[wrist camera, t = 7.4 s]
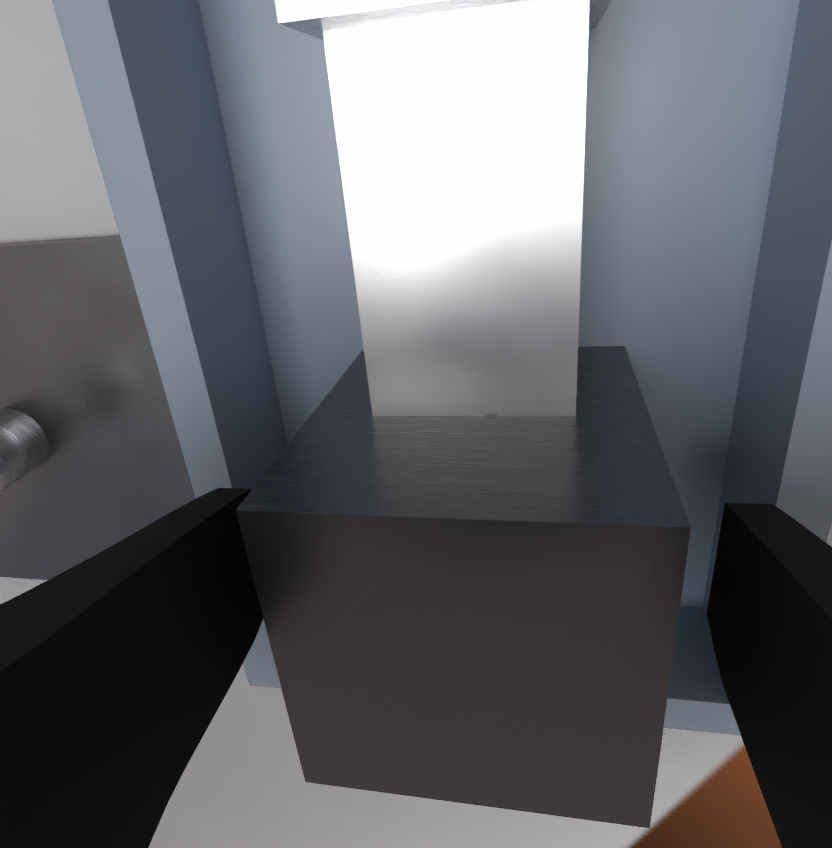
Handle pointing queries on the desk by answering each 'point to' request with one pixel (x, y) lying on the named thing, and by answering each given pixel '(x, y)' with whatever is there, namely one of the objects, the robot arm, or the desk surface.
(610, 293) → the tray
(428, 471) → the strut
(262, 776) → the desk surface
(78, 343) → the stud plate
